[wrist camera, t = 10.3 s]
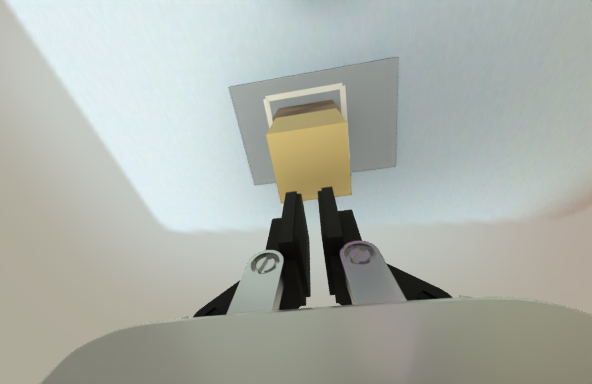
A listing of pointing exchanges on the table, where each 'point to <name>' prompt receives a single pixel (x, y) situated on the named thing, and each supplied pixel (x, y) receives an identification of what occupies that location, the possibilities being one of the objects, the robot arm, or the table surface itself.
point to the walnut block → (305, 108)
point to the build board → (320, 87)
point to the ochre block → (310, 153)
